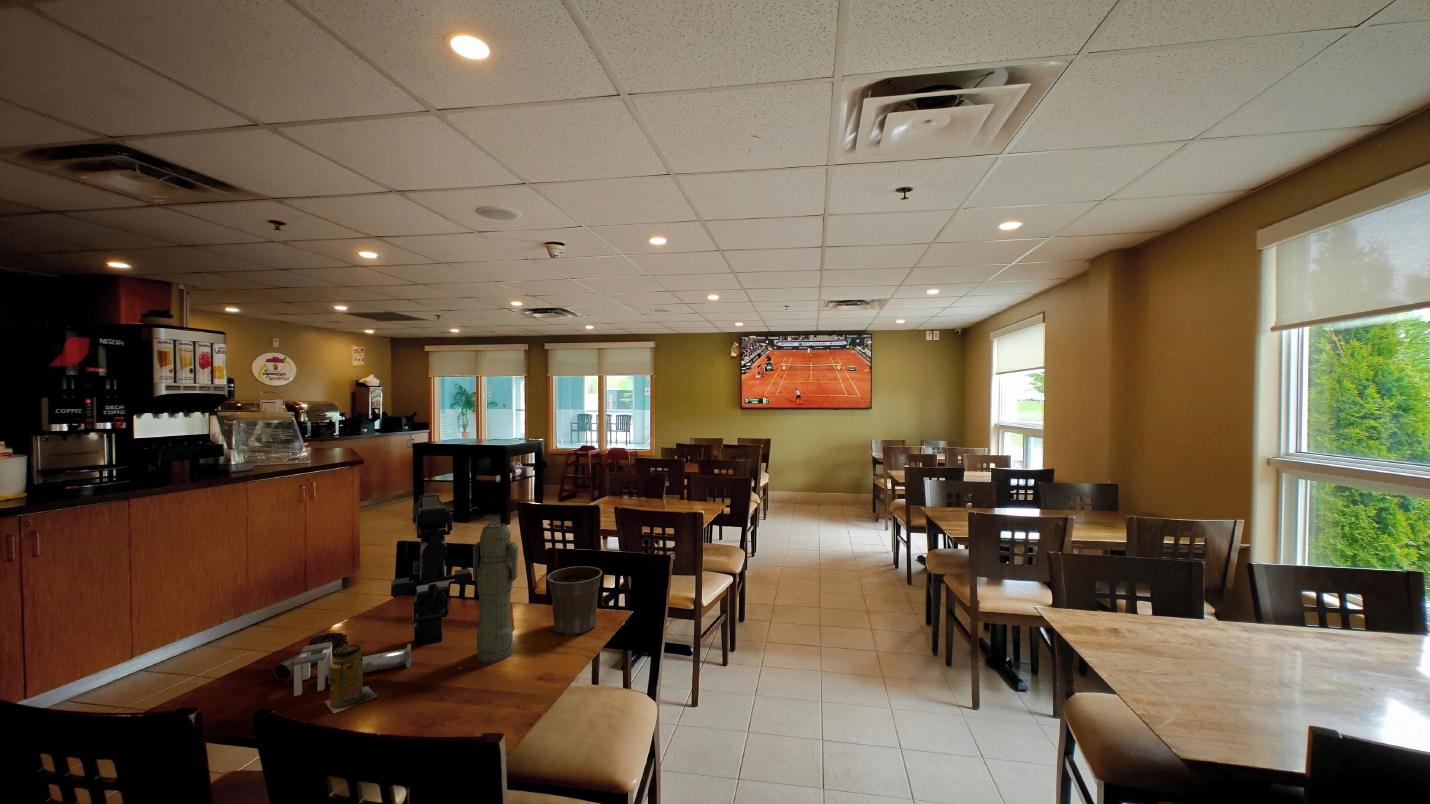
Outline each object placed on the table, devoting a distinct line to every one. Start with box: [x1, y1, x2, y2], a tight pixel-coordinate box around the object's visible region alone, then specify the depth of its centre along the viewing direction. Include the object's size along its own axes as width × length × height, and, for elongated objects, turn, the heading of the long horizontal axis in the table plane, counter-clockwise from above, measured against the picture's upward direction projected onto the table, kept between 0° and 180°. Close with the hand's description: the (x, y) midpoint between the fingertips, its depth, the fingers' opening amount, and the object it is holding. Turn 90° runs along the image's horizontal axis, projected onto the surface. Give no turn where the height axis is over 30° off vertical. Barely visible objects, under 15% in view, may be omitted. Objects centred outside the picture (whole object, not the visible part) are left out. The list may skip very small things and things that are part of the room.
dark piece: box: [273, 632, 350, 682], centre depth 135 cm, size 18×7×6 cm, turn 171°
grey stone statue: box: [472, 522, 519, 664], centre depth 139 cm, size 9×12×35 cm
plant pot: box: [546, 565, 603, 636], centre depth 157 cm, size 16×16×16 cm
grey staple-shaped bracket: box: [293, 642, 333, 697], centre depth 124 cm, size 6×10×8 cm, turn 28°
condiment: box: [324, 643, 378, 714], centre depth 118 cm, size 7×8×12 cm
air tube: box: [327, 643, 412, 686], centre depth 130 cm, size 17×4×4 cm, turn 118°
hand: (432, 614), depth 136 cm, fingers closed
